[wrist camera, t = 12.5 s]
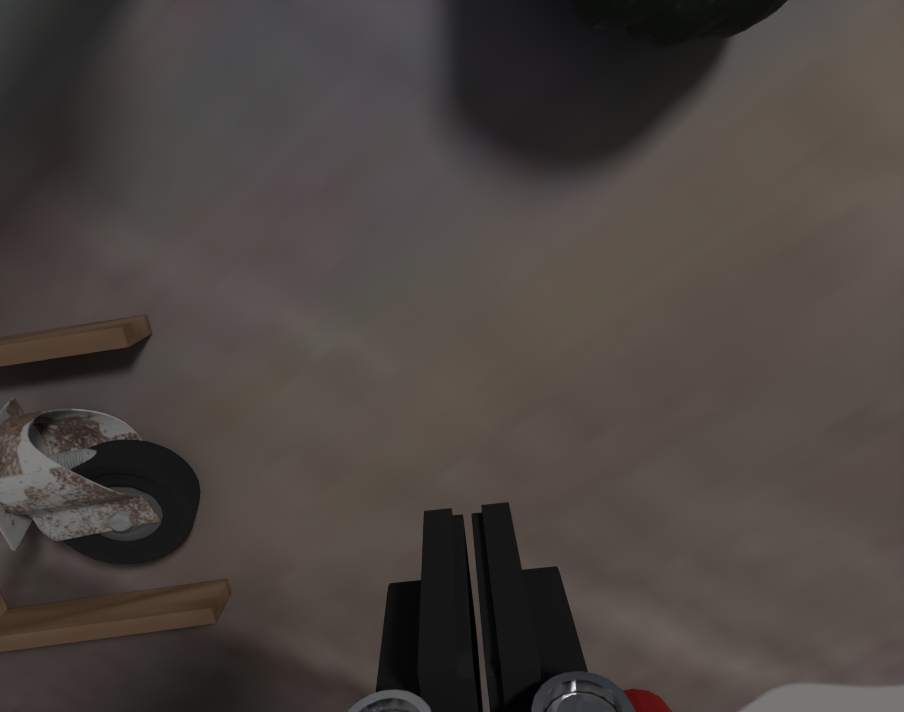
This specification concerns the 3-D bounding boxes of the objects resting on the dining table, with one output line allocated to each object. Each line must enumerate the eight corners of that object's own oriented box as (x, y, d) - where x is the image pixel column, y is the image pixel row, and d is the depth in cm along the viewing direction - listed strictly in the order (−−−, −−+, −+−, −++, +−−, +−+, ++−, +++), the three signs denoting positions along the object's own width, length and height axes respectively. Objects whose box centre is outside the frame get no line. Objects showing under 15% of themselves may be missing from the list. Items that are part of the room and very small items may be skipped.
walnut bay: (-122, 356, 39) (-168, 371, 36) (146, 314, 38) (121, 326, 35) (-3, 624, 45) (-34, 656, 42) (231, 593, 44) (216, 623, 41)
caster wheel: (220, 503, 45) (74, 531, 44) (171, 369, 39) (3, 396, 38) (204, 575, 39) (36, 609, 38) (145, 429, 34) (-54, 464, 32)
